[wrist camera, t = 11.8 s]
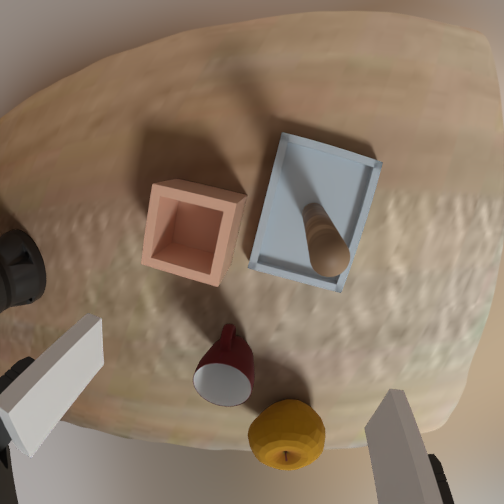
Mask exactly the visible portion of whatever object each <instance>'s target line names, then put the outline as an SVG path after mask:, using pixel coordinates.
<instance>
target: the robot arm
mask: <svg viewBox="0 0 504 504" xmlns="http://www.w3.org/2000/svg"><path fill="white" fill-rule="evenodd" d="M45 286H46V273H45V267H44V263H43V260H42V257H41V254H40V252H39V250H38V248H37V246H36V245H35V243H34V242H33V240H32V239H31V238H30V237H29V236H28V235H27V234H26V233H24V232H22V231H20V230H12V231H9V232H6V233H4V234H3V235H2V236H0V313H1V312H3V311H4V310H6V309H7V308H9V307H14V306H20V305H26V304H31V303H33V302H34V301H36V300H37V299H39V298H40V297H41V296H42V295H43V293H44V290H45ZM103 365H104V358H103V340H102V318H100V317H97V316H95V315H92V314H90V313H87V314H86V315H85V316H84V317H83V318H81V319H80V320H79V321H78V322H77V323H76V324H75V325H74V326H72V327H71V328H70V329H69V330H68V331H67V332H66V333H65V334H63V335H62V336H61V337H60V338H59V339H58V340H57V341H56V342H55V343H54V344H52V345H51V346H50V347H49V348H48V349H47V350H46V351H45V352H44V353H43V354H42V355H41V356H39V357H38V358H37V359H36V360H34V359H33V358H31V357H26V358H24V359H22V360H19V361H18V362H17V363H16V364H14V365H13V366H12V367H11V369H10V370H8V371H7V372H6V373H5V375H3V376H1V377H0V504H18V500H17V495H16V490H15V484H14V478H13V472H12V466H11V457H10V449H9V446H8V444H9V443H10V441H11V440H12V441H13V443H14V445H15V447H16V448H17V449H18V450H20V451H21V452H23V453H24V454H26V455H27V456H28V457H30V458H32V456H33V455H34V453H35V452H36V451H37V449H38V448H39V447H40V445H41V444H42V443H43V441H44V440H45V439H46V437H47V436H48V435H49V433H50V432H51V431H52V429H53V428H54V427H55V425H56V424H57V423H58V422H59V420H60V419H61V418H62V416H63V415H64V414H65V412H66V411H67V410H68V409H69V407H70V406H71V405H72V403H73V402H74V401H75V400H76V398H77V397H78V396H79V395H80V393H81V392H82V391H83V390H84V388H85V387H86V386H87V385H88V383H89V382H90V381H91V380H92V378H93V377H94V376H95V375H96V373H97V372H98V371H99V370H100V368H101V367H102V366H103ZM365 433H366V438H367V443H368V447H369V453H370V458H371V463H372V469H373V474H374V480H375V486H376V492H377V498H378V504H454V501H453V498H452V495H451V492H450V488H449V485H448V482H446V480H447V479H446V477H445V474H444V471H443V468H442V465H441V462H440V461H439V460H438V459H437V457H436V456H435V455H434V454H427V451H426V449H425V446H424V443H423V440H422V437H421V435H420V432H419V429H418V426H417V424H416V421H415V418H414V416H413V413H412V410H411V408H410V405H409V403H408V400H407V398H406V395H405V393H404V390H397V389H389V391H388V392H387V394H386V396H385V397H384V399H383V400H382V402H381V404H380V405H379V407H378V408H377V410H376V411H375V413H374V414H373V416H372V417H371V419H370V420H369V422H368V423H367V425H366V426H365Z"/></svg>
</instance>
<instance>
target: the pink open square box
mask: <svg viewBox="0 0 504 504" xmlns="http://www.w3.org/2000/svg"><path fill="white" fill-rule="evenodd" d="M246 199H247V195H245V194H241V193H237V192H233V191H229V190H225V189H221V188H216V187H212V186H208V185H204V184H199V183H195V182H191V181H186V180H182V179H172V180H167V181H163V182H158V183H153V184H152V190H151V196H150V202H149V209H148V215H147V222H146V229H145V237H144V245H143V253H142V262H141V264H143V265H146V266H149V267H153V268H156V269H159V270H162V271H166V272H169V273H172V274H175V275H179V276H182V277H185V278H189V279H192V280H196V281H199V282H202V283H206V284H209V285H213V286H216V287H218V286H219V285H220V283H221V281H222V279H223V278H224V276H225V274H226V272H227V271H228V269H229V267H230V266H231V263H232V258H233V254H234V250H235V246H236V241H237V237H238V233H239V228H240V224H241V220H242V216H243V212H244V207H245V203H246Z"/></svg>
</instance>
